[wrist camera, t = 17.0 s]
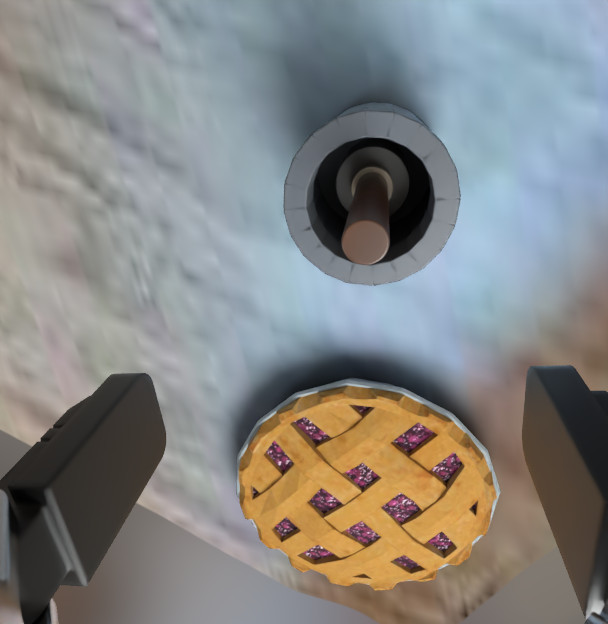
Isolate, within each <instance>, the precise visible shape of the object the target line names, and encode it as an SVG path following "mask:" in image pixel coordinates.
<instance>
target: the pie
mask: <svg viewBox="0 0 608 624" xmlns="http://www.w3.org/2000/svg"><path fill="white" fill-rule="evenodd" d="M236 494H237V496H238V498H239V500H240V506H241V508H242V511H243V514H244V516H245V519H250V520H251V521H252V523H253V525H254V527H255V529H256V530H257V531H258V534H259V538H260V540H261V541H262V542H263V543H264V544H265V545H266V546H267V547H268V548H273V549H279V550H280V551H282V552H283V553H284V554H285V555H286V556H287V557H288V558H289V560H290V563H291V565H292V566H293V567H295V568H296V569H298V570H299V571H301V572H305V571H307V570H310V569H313V570H315V571H318V572H320V573H322V574H324V575H326V576H327V578H328V579H329V581H330V583H335V584H339V585H343V586H350V585H352V584H354V583H363V584H369V585H370V586H371V587H372V588H373V589H374V591H375V590H390V589H392V588H393V587H394V586H395V585H396V584H397V583H398V582H402V581H410V580H417V581H419V582H424V581H429V580H434V579H435V577H436V574H437V571H438V570H439V569H441V568H443V567H445V566H447V565H449V564H452V565H457V566H458V565H459V564H460V563H461V562H463V561H464V560H465V559H466V558H468V557H469V556H470V552H471V548H472V546H473V545H474V543H475V542H476V541H477V540H478V539H479V538H480V537H481V536H482V535H484V536H485V535H486V533H487V530H488V528H489V525H490V522H491V519H492V516H493V513H494V510H495V507H496V504H497V501H498V497H499V494H500V488H499V485H498V482H497V479H496V475H495V472H494V469H493V466H492V463H491V460H490V456H489V453H488V450H487V449H486V448H485V447H484V446H483V445H482V444H481V443H480V442H479V441H478V440H477V439H476V438H475V437H474V436H473V434H472V433H471V432H470V431H469V430H468V429H467V428H466V427H465V426H464V425H463V424H462V423H461V422H460V421H459V420H458V419H457V418H456V417H455V415H454V414H453V413H451V412H449V411H447V410H445V409H443V408H441V407H439V406H437V405H435V404H433V403H431V402H429V401H427V400H425V399H424V398H422V397H420V396H418V395H416V394H414V393H412V392H410V391H408V390H406V389H404V388H401V387H396V386H394V385H392V384H387V383H382V382H376V381H370V380H364V379H358V378H352V377H351V378H347V379H344V380H340V381H337V382H333V383H330V384H326V385H323V386H319V387H316V388H312V389H308V390H304V391H300V392H296V393H294V394H293V395H292V396H290V397H289V398H288V399H286V400H285V401H284V402H282V403H281V404H280V405H278V406H277V407H276V408H274V409H273V410H271V411H270V412H269V413H267V414H266V415H265V416H263V417H262V418H261V419H259V420H258V421H257V423H256V424H255V426H254V428H253V430H252V431H251V433H250V435H249V437H248V438H247V440H246V442H245V444H244V445H243V447H242V449H241V450H240V452H239V454H238V456H237V483H236Z"/></svg>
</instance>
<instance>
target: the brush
mask: <svg viewBox="0 0 608 624" xmlns="http://www.w3.org/2000/svg"><path fill="white" fill-rule="evenodd" d="M335 187H336V194H337V197H338V199H339V202H340V203H341V205H342V206H343V208H344V209H345V210H346V211H347V212H348V213H349V214H348V218H347V221H346V225H345V228H344V232H343V236H342V249H343V251H344V253H345V255H346V256H347V257H348V258H349V259H350V260H351V261H353V262H354V263H357V264H360V265H371V264H374V263H376V262H378V261H380V260H381V259H382V258H383V257H384V256H385V255H386V253H387V251H388V249H389V244H390V238H389V217H390V216H392V215H393V214H395V213H396V212H397V211H398V210H399V209H400V208H401V207H402V206H403V204H404V203H405V201H406V199H407V197H408V194H409V190H410V175H409V170H408V167H407V163H406V160H405V157H404V155H403V153H402V152H401V150H400V149H399V148H398V147H397V146H396V145H395V144H394V143H392V142H390V141H388V140H386V139H382V138H369V139H365V140H362V141H360V142H359V143H357V144H356V145H354V146H353V147H352V148H351V149H350V150H349V152H348V153H347V155H346V157H345V158H344V160H343V162H342V164H341V166H340V168H339V170H338V172H337V176H336V182H335Z"/></svg>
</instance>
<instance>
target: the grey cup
mask: <svg viewBox="0 0 608 624" xmlns="http://www.w3.org/2000/svg"><path fill="white" fill-rule="evenodd" d="M369 138H382V139H386V140H388V141H390V142H392V143H394V144H395V145H396V146H397V147H398V148H399V149H400V150H401V152H402V153H403V155H404V157H405V160H406V163H407V167H408V170H409V175H410V190H409V194H408V197H407V199H406V201H405V203H404V204H403V206H402V207H401V208H400V209H399V210H398V211H397V212H396V213H395V214H393V215H392V216H390V217H389V238H390V244H389V249H388V251H387V253H386V255H385V256H384V257H383V258H382V259H381V260H380V261H378V262H376V263H374V264H371V265H360V264H357V263H354V262H353V261H351V260H350V259H349V258H348V257H347V256H346V255H345V253H344V251H343V249H342V236H343V232H344V228H345V225H346V221H347V218H348V214H349V213H348V212H347V211H346V210H345V209H344V208H343V206H342V205H341V203H340V202H339V199H338V197H337V194H336V187H335V182H336V176H337V172H338V170H339V168H340V166H341V164H342V162H343V160H344V158H345V157H346V155H347V153H348V152H349V150H350V149H351V148H352V147H353V146H354V145H356V144H357V143H359V142H360V141H362V140H365V139H369ZM459 204H460V188H459V181H458V174H457V170H456V167H455V165H454V163H453V161H452V159H451V157H450V155H449V153H448V151H447V149H446V147H445V145H444V144H443V143H442V141H441V140H440V139H439V138H438V137H437V136H436V135H435V134H434V133H433V132H432V131H431V130H430V129H429V128H428V127H427V126H426V125H425V124H424V123H423V122H422V121H420V120H419V119H418V118H417V117H416V116H415V115H414V114H413V113H412V112H410V111H408V110H406V109H404V108H401V107H399V106H396V105H394V104H391V103H380V102H379V103H376V102H371V103H370V102H369V103H366V104H362V105H358V106H355V107H351V108H349V109H347V110H346V111H345V112H343V113H342V114H340V115H339V116H337V117H336V118H334V119H333V120H331V121H330V122H328V123H327V124H325V125H324V126H322V127H321V128H319V129H318V130H316V131H315V132H313V134H312V135H310V137H309V138H308V139H307V140H306V142H305V143H304V144H303V146H302V147H301V148H300V149H299V151H298V152H297V153H296V155H295V157H294V158H293V161H292V163H291V166H290V169H289V172H288V174H287V177H286V180H285V185H284V214H285V218H286V221H287V225H288V228H289V232H290V235H291V237H292V239H293V240H294V242H295V243H296V245H297V246H298V248H299V249H300V251H301V252H302V254H303V256H304V257H306V258H307V259H308V260H309V261H310V262H311V263H313V264H314V265H315V266H316V267H317V268H319V269H320V270H321V271H322V272H325V274H327V275H329V276H332V277H334V278H336V279H339V280H341V281H343V282H346V283H352V284H362V285H371V286H372V285H374V286H375V285H381V284H386V283H391V282H396V281H400V280H402V279H404V278H406V277H408V276H410V275H412V274H414V273H416V272H418V271H420V270H422V268H424V267H425V266H426V265H427V264H428V263H429V262H430V261H431V260H432V259H433V258H434V257H436V256H437V255H438V254H439V253H440V252H441V251H442V249H443V247H444V246H445V244H446V242H447V240H448V238H449V236H450V235H451V233H452V231H453V229H454V227H455V224H456V220H457V215H458V209H459Z"/></svg>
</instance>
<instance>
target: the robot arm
mask: <svg viewBox="0 0 608 624" xmlns="http://www.w3.org/2000/svg"><path fill="white" fill-rule="evenodd" d="M522 442H523V451H524V456H525V460H526V463H527V466H528V469H529V472H530V474H531V477H532V479H533V482H534V485H535V487H536V490H537V493H538V495H539V498H540V501H541V503H542V506H543V508H544V511H545V514H546V516H547V519H548V522H549V524H550V527H551V530H552V532H553V535H554V537H555V540H556V543H557V545H558V548H559V550H560V553H561V556H562V558H563V561H564V564H565V566H566V569H567V571H568V574H569V577H570V579H571V582H572V585H573V587H574V590H575V592H576V595H577V598H578V601H579V603H580V606H581V608H582V611H583V614H584V616H585V618H586V619H587V620H586V622H585V623H584V624H608V392H606V391H590V390H589V388H588V387H587V385H586V384H585V382H584V381H583V379H582V378H581V376H580V375H579V374H578V372H577V371H576V369H575V368H574V367H573V366H571V365H567V366H531V367H530V368H529V369H528V372H527V379H526V391H525V403H524V416H523V428H522ZM165 446H166V431H165V426H164V423H163V419H162V415H161V411H160V407H159V404H158V400H157V396H156V392H155V389H154V385H153V382H152V379H151V377H150V376H149V375H148V374H146V373H127V374H112V375H110V376H109V377H108V378H107V379H106V380H105V381H104V383H103V384H102V385H101V386H100V387H99V388H98V389H97V390H96V391H95V392H94V393H93V394H92V395H91V396H89V397H87V398H86V399H84V400H83V401H81V402H80V403H78V404H76V405H75V406H73V407H72V408H70V409H69V410H67V412H66V413H65V414H64V415H63V416H62V417H61V418H60V419H59V420H58V421H57V422H56V423H55V424H54V425H53V428H50V429H49V430H48V431H47V432H46V433H45V434H44V435H43V436H42V437H41V441H40V442H37V443H36V444H35V445H34V446H33V447H32V448H31V449H30V450H29V451H28V452H27V453H26V454H25V455H24V456H23V457H22V458H21V459H20V461H19V462H17V464H16V465H15V466H14V467H13V468H12V469H11V470H10V471H9V472H8V473H7V474H6V475H5V476H4V477H3V478H2V479H1V480H0V624H58V615H57V608H56V604H55V602H54V600H53V598H52V597H53V595H54V593H55V592H56V591H57V589H58V588H59V586H60V585H70V586H87V585H88V583H89V582H90V580H91V578H92V576H93V575H94V573H95V571H96V570H97V568H98V566H99V565H100V563H101V561H102V559H103V558H104V556H105V554H106V553H107V551H108V549H109V547H110V546H111V544H112V542H113V541H114V539H115V537H116V536H117V534H118V532H119V530H120V529H121V527H122V525H123V524H124V522H125V520H126V519H127V517H128V515H129V513H130V512H131V510H132V508H133V506H134V505H135V503H136V502H137V500H138V498H139V496H140V495H141V493H142V491H143V490H144V488H145V486H146V485H147V483H148V481H149V479H150V478H151V476H152V474H153V473H154V471H155V469H156V468H157V466H158V464H159V462H160V461H161V459H162V457H163V454H164V451H165Z"/></svg>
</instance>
